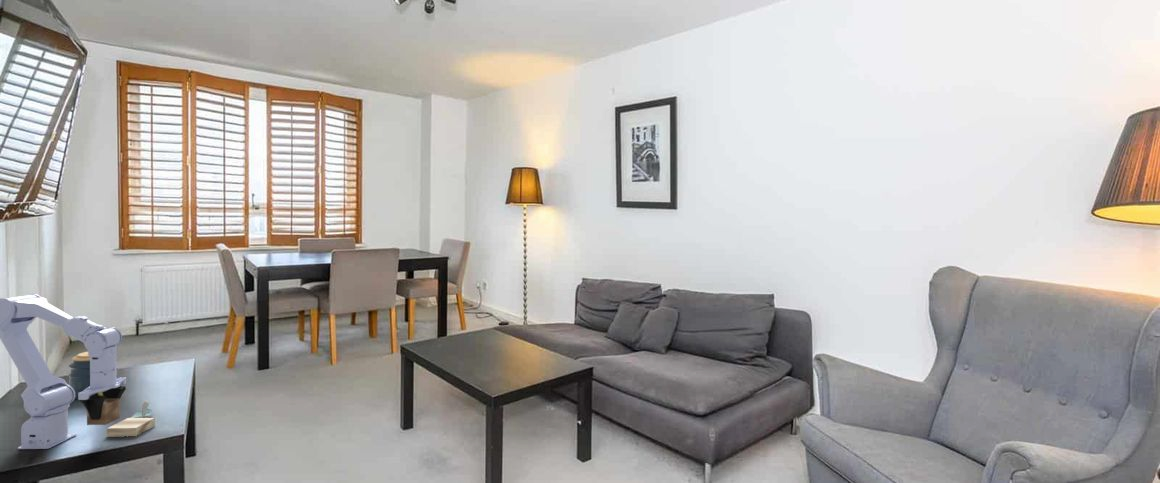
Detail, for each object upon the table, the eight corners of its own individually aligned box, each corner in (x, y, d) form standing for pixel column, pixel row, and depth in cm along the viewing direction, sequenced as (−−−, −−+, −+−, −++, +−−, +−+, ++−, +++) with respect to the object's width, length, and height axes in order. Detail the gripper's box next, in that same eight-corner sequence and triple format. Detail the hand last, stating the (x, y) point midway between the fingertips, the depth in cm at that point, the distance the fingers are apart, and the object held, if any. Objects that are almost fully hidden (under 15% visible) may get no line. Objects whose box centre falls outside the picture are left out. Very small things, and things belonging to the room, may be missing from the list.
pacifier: (125, 425, 163) (149, 422, 166) (124, 406, 163) (148, 403, 166) (130, 418, 169) (153, 414, 172) (129, 399, 169) (152, 396, 172)
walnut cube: (105, 424, 148) (105, 404, 148) (87, 424, 148) (86, 404, 148) (119, 418, 153) (119, 398, 153) (101, 418, 153) (101, 398, 153)
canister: (90, 401, 181) (90, 352, 181) (58, 398, 183) (58, 350, 182) (126, 389, 194) (126, 343, 194) (96, 387, 196) (96, 341, 195)
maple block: (135, 437, 155) (135, 428, 155) (107, 438, 154) (107, 428, 154) (154, 427, 163) (154, 417, 163) (127, 427, 162) (127, 418, 162)
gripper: (97, 377, 143) (97, 425, 144) (137, 363, 158) (137, 406, 158) (69, 377, 142) (70, 425, 143) (112, 363, 157) (112, 406, 157)
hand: (103, 415), depth 151 cm, fingers closed on walnut cube, 5 cm apart
